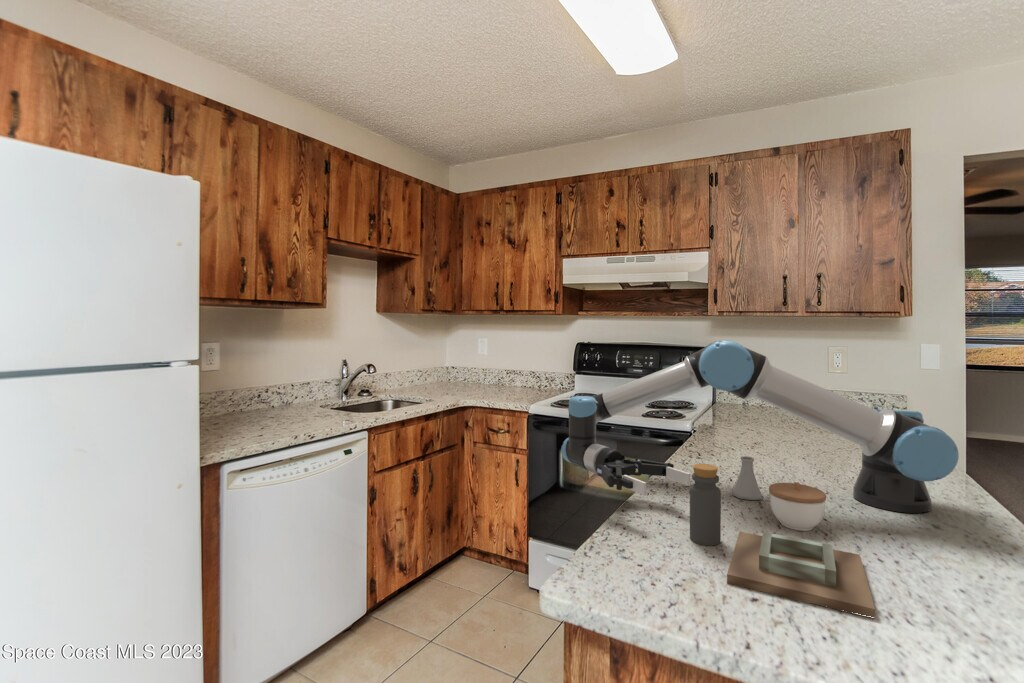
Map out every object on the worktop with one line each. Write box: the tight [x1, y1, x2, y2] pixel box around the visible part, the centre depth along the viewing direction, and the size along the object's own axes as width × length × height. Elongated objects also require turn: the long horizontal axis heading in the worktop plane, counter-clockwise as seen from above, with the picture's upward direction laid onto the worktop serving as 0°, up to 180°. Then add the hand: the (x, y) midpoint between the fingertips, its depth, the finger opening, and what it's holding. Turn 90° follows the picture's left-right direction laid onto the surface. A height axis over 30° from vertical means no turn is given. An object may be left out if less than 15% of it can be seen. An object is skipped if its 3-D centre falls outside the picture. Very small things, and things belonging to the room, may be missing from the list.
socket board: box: [726, 531, 876, 618], centre depth 84 cm, size 20×20×4 cm
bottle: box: [689, 463, 722, 547], centre depth 97 cm, size 6×6×15 cm
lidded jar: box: [768, 481, 827, 532], centre depth 104 cm, size 11×11×9 cm
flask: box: [731, 455, 763, 501], centre depth 123 cm, size 7×7×10 cm
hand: (668, 484), depth 106 cm, fingers open, 13 cm apart
